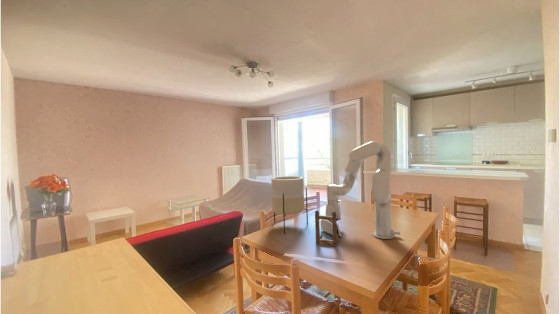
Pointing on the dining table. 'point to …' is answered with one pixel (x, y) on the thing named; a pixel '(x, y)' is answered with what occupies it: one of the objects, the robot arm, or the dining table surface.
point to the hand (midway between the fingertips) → (333, 227)
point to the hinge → (329, 227)
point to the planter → (288, 196)
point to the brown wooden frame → (319, 235)
